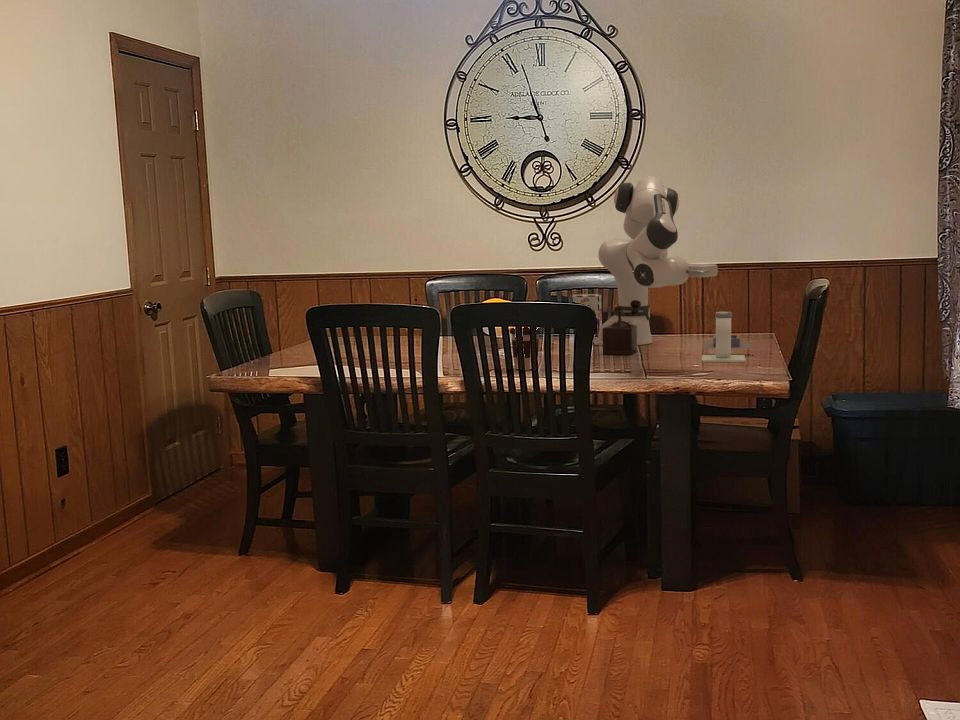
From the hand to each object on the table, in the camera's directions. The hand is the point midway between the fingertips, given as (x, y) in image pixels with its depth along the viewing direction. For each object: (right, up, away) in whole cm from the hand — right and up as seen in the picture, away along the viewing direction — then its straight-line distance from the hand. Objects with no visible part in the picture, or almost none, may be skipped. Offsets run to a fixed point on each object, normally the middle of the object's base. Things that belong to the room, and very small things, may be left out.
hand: (701, 267), depth 338 cm
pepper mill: (-21, -27, +35) cm, 49 cm away
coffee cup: (-57, -33, +5) cm, 66 cm away
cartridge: (+10, -29, +13) cm, 33 cm away
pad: (+10, -29, +13) cm, 34 cm away
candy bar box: (-29, -20, +80) cm, 87 cm away
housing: (+17, -25, +37) cm, 47 cm away
